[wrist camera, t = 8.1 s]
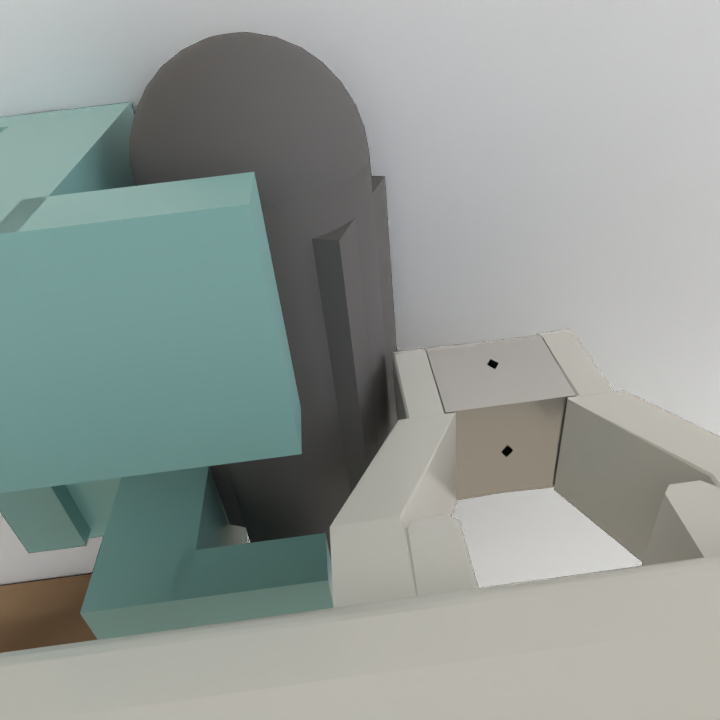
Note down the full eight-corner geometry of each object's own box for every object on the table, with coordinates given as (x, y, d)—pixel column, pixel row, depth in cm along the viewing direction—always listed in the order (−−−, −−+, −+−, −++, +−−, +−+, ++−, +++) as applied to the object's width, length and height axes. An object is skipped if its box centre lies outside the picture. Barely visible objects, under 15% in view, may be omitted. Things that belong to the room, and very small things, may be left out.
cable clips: (266, 85, 9) (249, 204, 5) (334, 484, 14) (349, 682, 10) (-192, 140, 8) (-539, 299, 5) (49, 522, 14) (-37, 735, 10)
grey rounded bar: (181, 18, 8) (30, 69, 6) (387, 5, 8) (300, 58, 5) (293, 493, 14) (237, 606, 12) (416, 515, 14) (381, 642, 11)
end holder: (336, 541, 15) (341, 616, 13) (370, 730, 21) (376, 796, 20) (-193, 611, 15) (-253, 696, 13) (6, 780, 21) (-17, 851, 20)
